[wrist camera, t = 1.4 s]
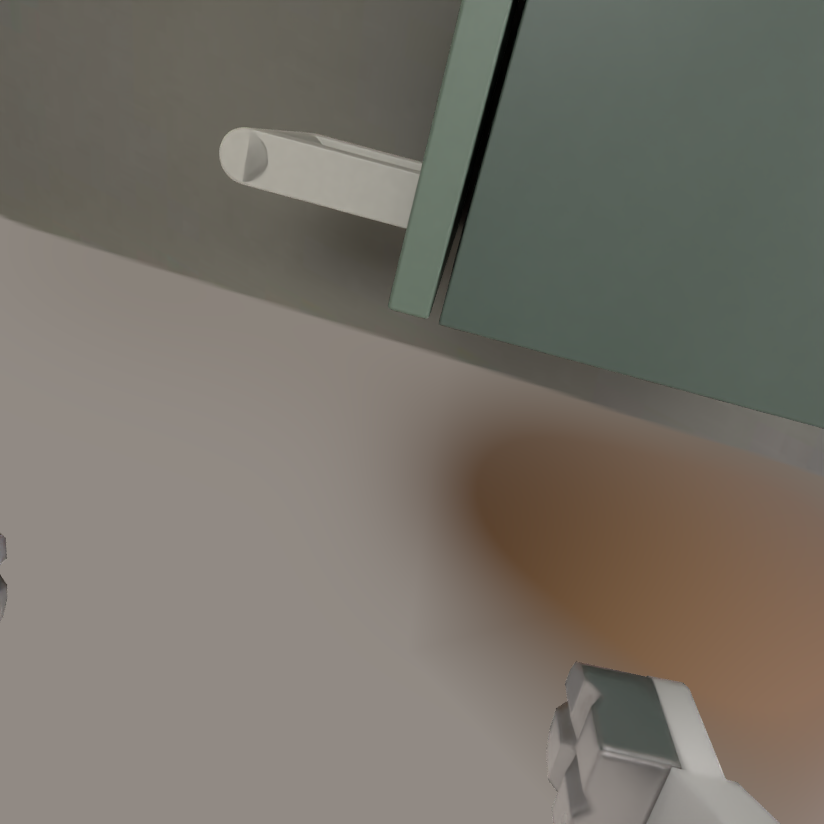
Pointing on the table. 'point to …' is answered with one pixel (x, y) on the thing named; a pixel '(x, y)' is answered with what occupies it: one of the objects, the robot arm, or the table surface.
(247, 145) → the cabinet door
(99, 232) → the table surface
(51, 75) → the table surface
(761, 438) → the table surface
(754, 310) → the green cabinet
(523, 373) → the table surface
